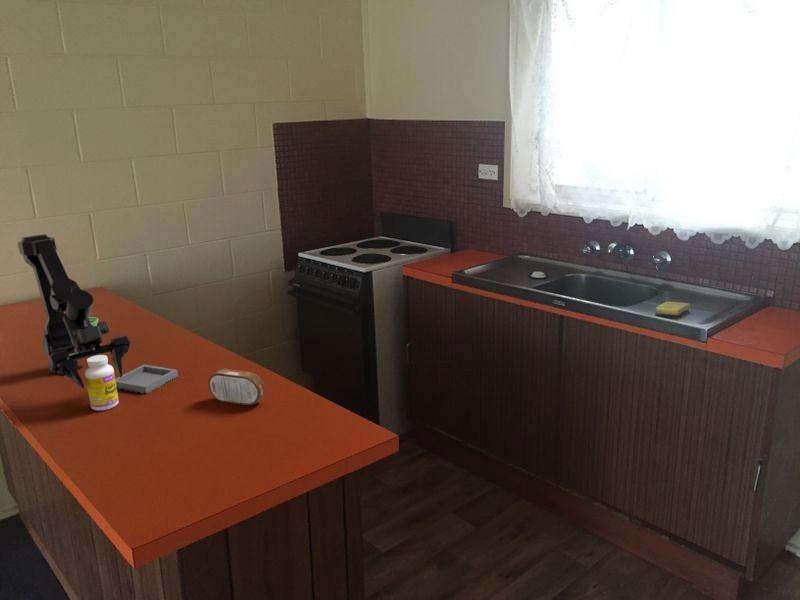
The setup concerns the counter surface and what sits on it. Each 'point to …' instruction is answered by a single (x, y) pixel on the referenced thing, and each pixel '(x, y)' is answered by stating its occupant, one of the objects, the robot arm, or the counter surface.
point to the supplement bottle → (101, 383)
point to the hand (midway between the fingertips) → (102, 381)
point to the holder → (145, 378)
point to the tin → (236, 387)
